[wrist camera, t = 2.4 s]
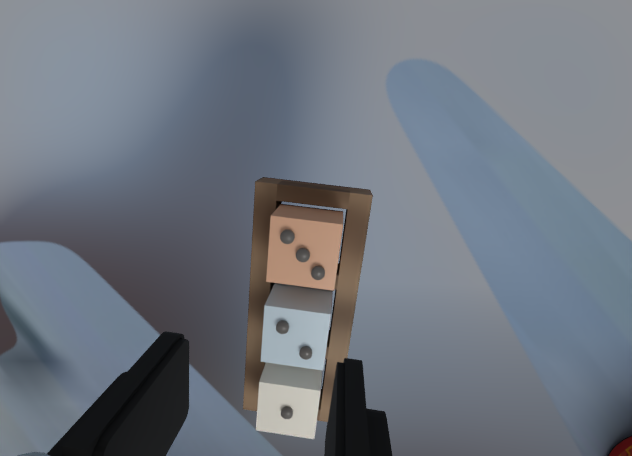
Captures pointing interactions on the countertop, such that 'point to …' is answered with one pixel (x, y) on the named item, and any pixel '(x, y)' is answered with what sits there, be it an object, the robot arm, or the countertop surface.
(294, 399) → the tile one pip
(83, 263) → the countertop surface
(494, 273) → the countertop surface
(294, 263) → the tile three pip
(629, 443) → the canned food
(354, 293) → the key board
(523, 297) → the countertop surface
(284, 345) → the tile two pip
